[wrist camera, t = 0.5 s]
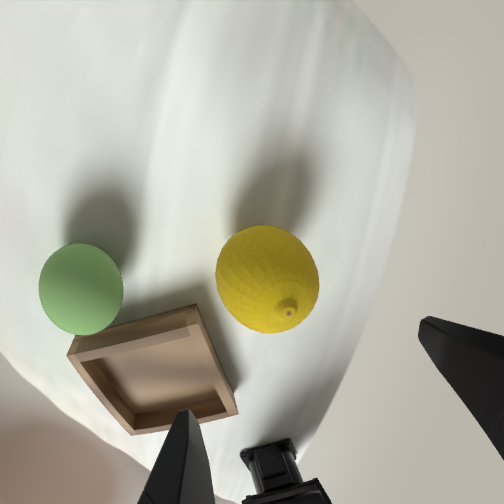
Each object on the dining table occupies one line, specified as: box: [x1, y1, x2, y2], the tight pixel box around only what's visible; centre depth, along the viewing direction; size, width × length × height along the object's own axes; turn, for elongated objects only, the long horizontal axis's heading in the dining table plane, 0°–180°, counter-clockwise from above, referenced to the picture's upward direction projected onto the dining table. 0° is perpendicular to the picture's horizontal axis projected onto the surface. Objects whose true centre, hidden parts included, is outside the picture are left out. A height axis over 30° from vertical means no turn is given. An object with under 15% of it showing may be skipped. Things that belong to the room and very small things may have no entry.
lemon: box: [215, 225, 319, 333], centre depth 16 cm, size 6×6×8 cm
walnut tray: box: [67, 304, 239, 436], centre depth 21 cm, size 11×11×2 cm
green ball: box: [39, 243, 123, 335], centre depth 15 cm, size 6×6×6 cm
